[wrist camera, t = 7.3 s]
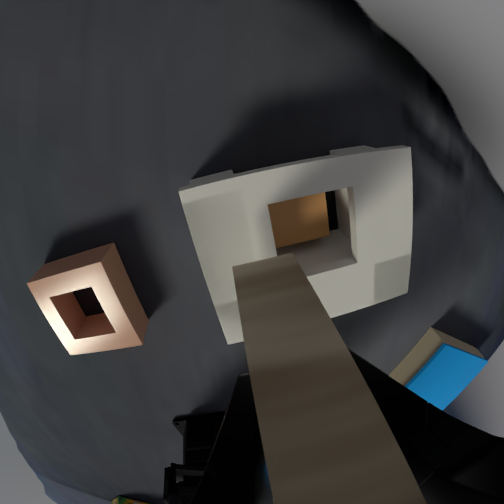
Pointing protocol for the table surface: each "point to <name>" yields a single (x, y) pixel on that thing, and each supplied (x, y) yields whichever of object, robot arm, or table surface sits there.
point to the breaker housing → (317, 250)
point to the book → (439, 367)
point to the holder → (107, 292)
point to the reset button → (299, 219)
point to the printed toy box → (126, 501)
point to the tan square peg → (313, 397)
